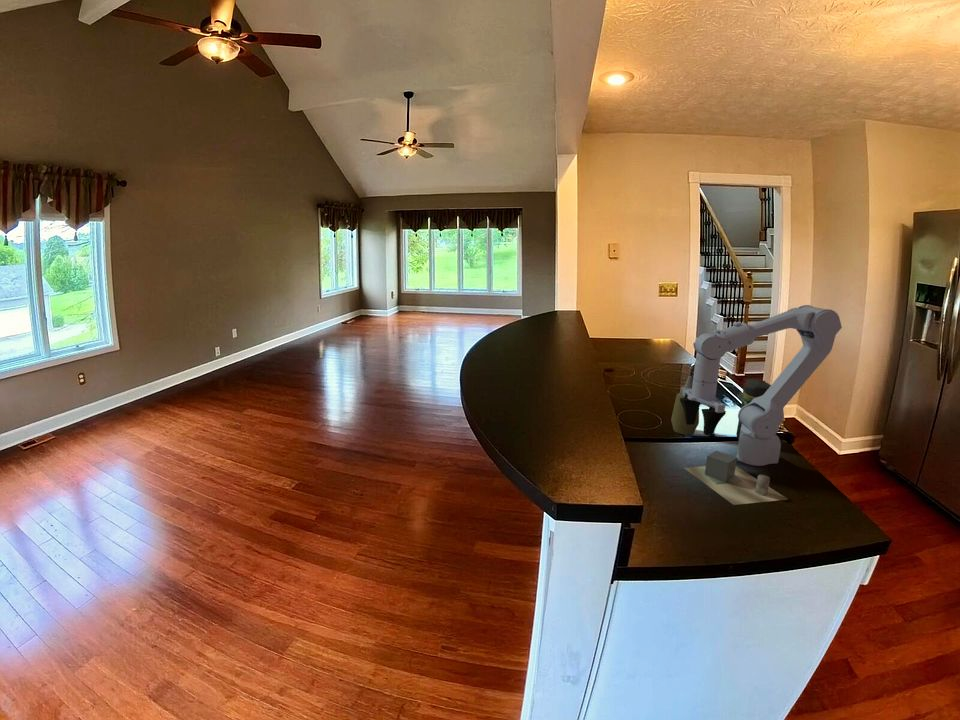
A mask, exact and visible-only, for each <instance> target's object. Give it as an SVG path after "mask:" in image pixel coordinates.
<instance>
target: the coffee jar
mask: <svg viewBox="0 0 960 720" xmlns="http://www.w3.org/2000/svg"><path fill="white" fill-rule="evenodd" d="M771 385H772V384H770V383H768V382H766V380H760V379H749V380H747V381H745V382H744V384H743V389H742V397H741V405H740V409H741V408H742V407H743V406H745V405H747V404H749V403H750V402H751V401H752V400H753V399H754V398H757V397H760V396H762V395H764V393H765V392H766V391H767V390H768V389H769V387H770V386H771ZM741 425H742V423H741V422H740V421H739V420H738V423H737V428H736V438H737V439H738V440H739V437H740V430H741Z"/></svg>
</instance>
